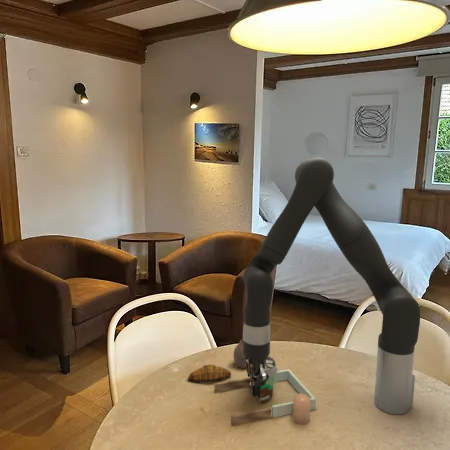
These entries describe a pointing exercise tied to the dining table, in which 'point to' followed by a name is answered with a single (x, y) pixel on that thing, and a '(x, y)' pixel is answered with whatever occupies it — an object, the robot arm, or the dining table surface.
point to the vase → (239, 355)
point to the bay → (288, 375)
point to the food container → (267, 389)
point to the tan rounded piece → (301, 408)
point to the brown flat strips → (245, 416)
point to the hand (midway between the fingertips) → (255, 395)
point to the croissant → (209, 374)
